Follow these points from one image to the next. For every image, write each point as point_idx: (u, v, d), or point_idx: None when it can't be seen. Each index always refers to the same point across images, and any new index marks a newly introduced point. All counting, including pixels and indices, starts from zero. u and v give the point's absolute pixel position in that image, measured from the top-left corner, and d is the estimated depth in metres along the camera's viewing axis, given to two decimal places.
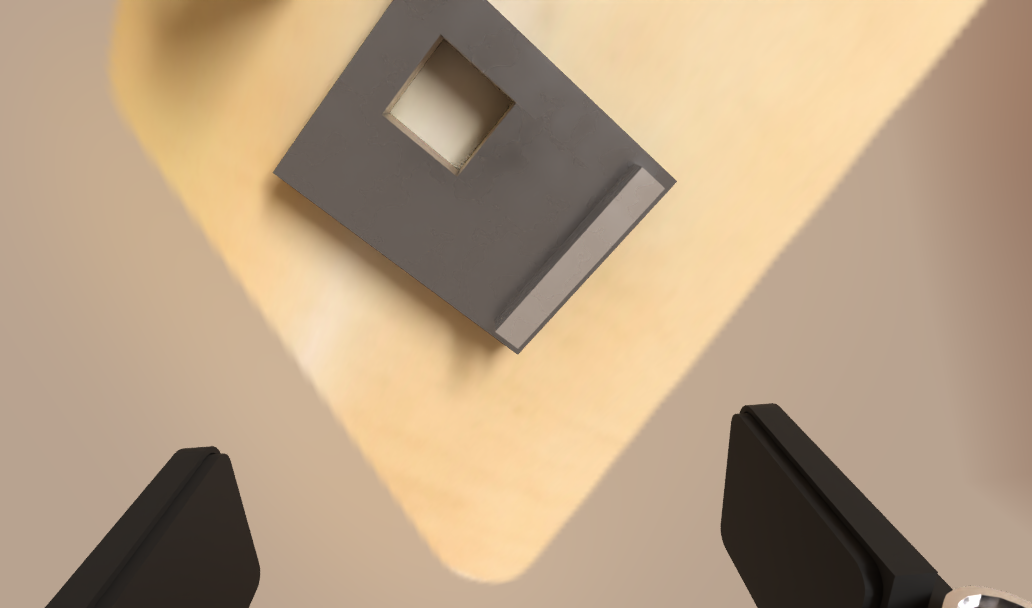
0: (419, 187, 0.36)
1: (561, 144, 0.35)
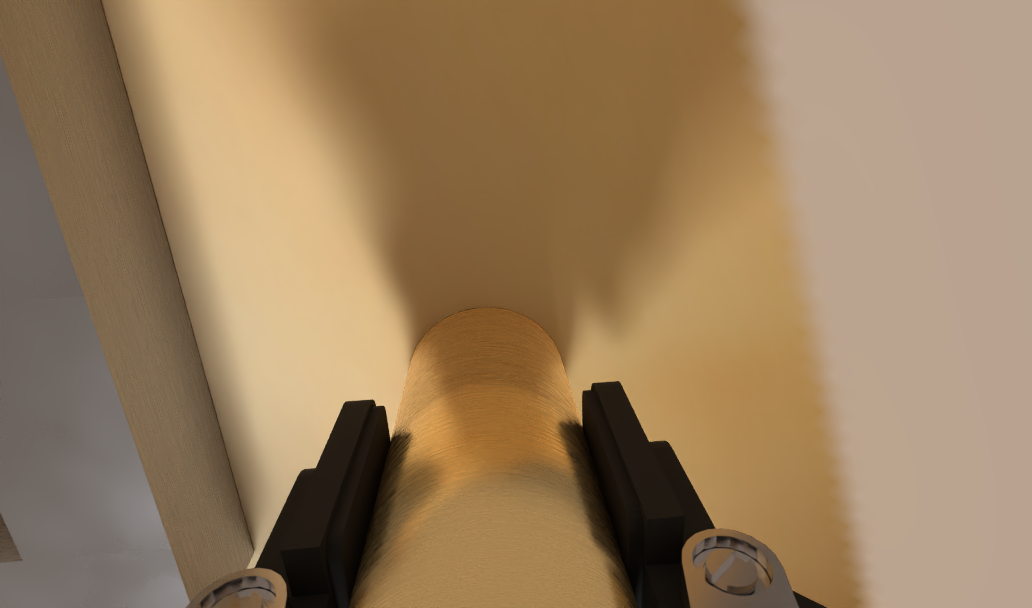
0: None
1: None
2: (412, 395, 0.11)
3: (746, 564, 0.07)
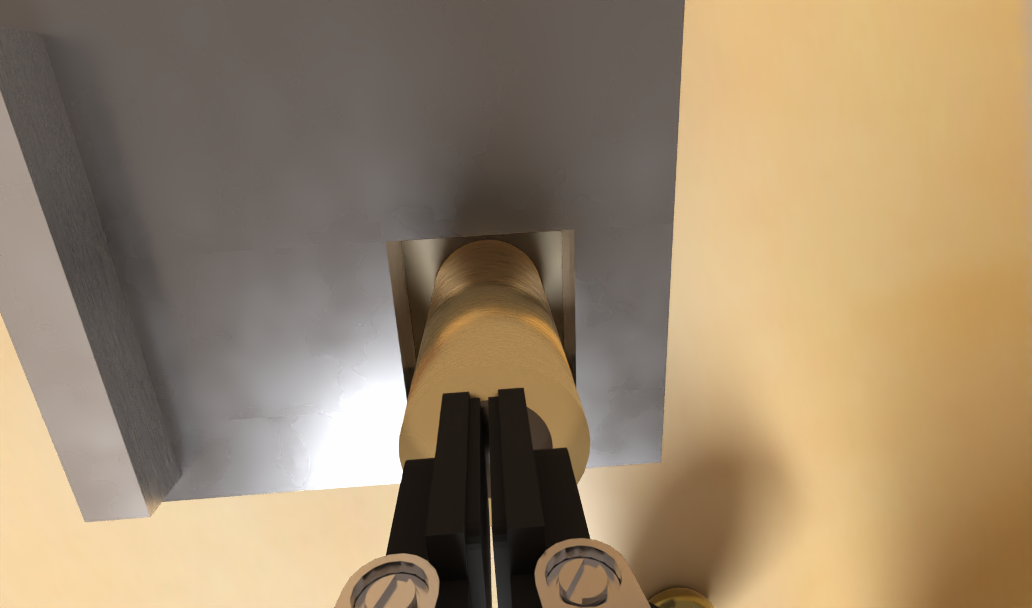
0: (424, 170, 0.16)
1: (296, 414, 0.19)
2: (441, 284, 0.18)
3: (595, 570, 0.07)
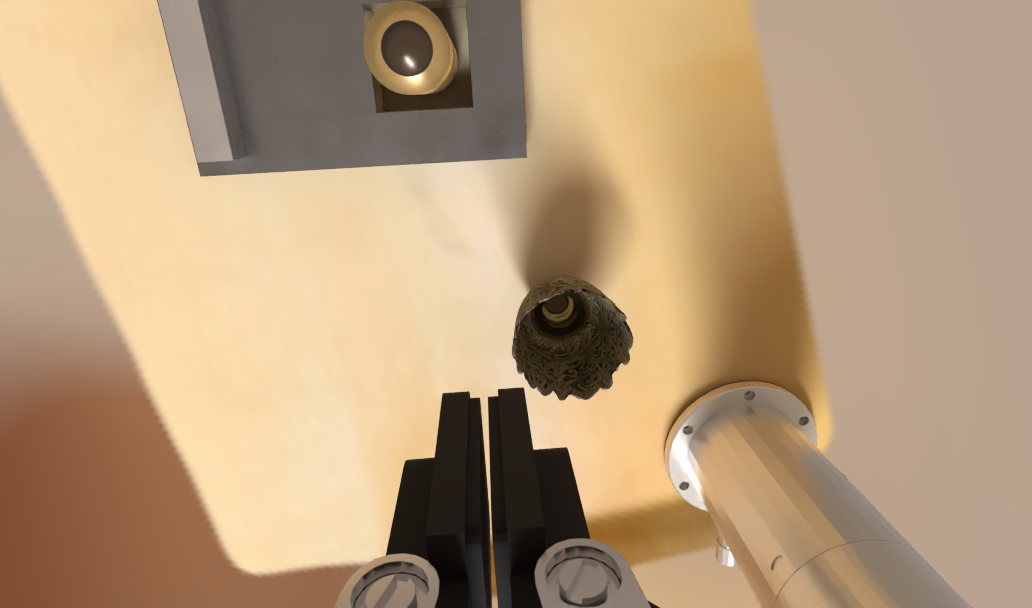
0: None
1: (312, 115, 0.33)
2: None
3: (596, 570, 0.07)
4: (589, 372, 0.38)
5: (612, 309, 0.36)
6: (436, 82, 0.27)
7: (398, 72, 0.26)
